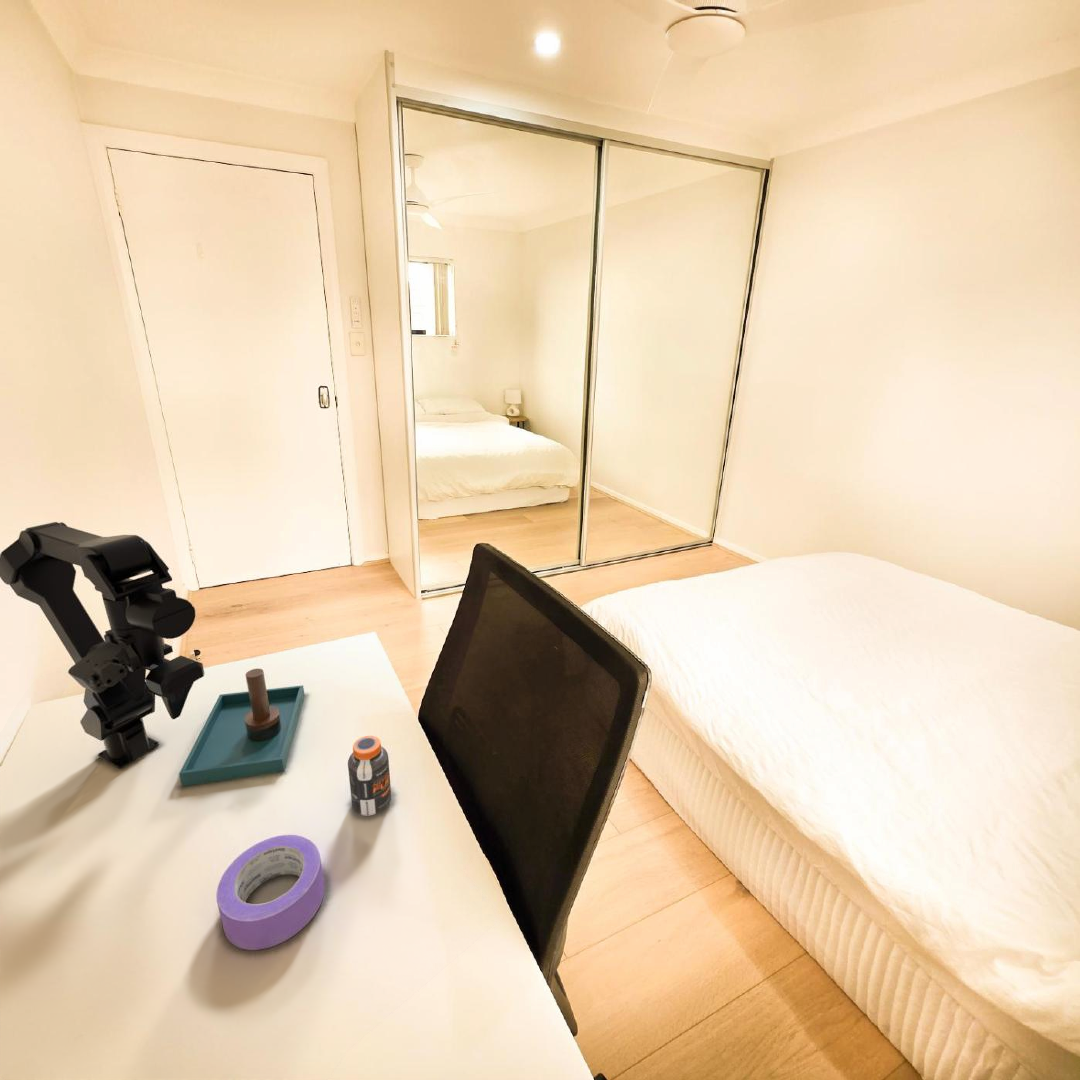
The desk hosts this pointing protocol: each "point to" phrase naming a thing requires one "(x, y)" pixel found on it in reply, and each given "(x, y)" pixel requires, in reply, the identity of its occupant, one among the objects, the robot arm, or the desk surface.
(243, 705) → the tray
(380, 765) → the pill bottle
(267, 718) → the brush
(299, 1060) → the desk surface
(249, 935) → the tape roll
